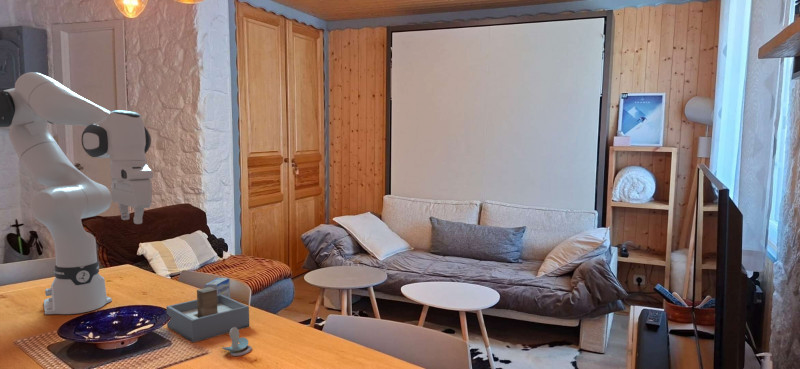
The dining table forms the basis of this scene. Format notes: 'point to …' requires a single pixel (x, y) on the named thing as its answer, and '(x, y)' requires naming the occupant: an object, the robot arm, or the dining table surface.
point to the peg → (206, 301)
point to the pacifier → (235, 346)
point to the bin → (207, 319)
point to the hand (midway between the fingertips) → (131, 221)
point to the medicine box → (220, 286)
